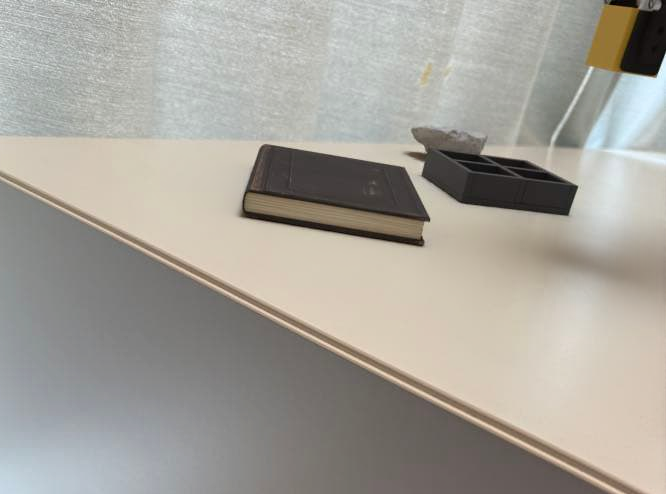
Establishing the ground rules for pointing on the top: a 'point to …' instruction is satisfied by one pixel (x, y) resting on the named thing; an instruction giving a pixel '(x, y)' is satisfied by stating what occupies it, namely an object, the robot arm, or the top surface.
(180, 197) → the top surface
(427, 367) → the top surface
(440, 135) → the fossil
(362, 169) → the hardcover book
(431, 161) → the divided tray
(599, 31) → the block
